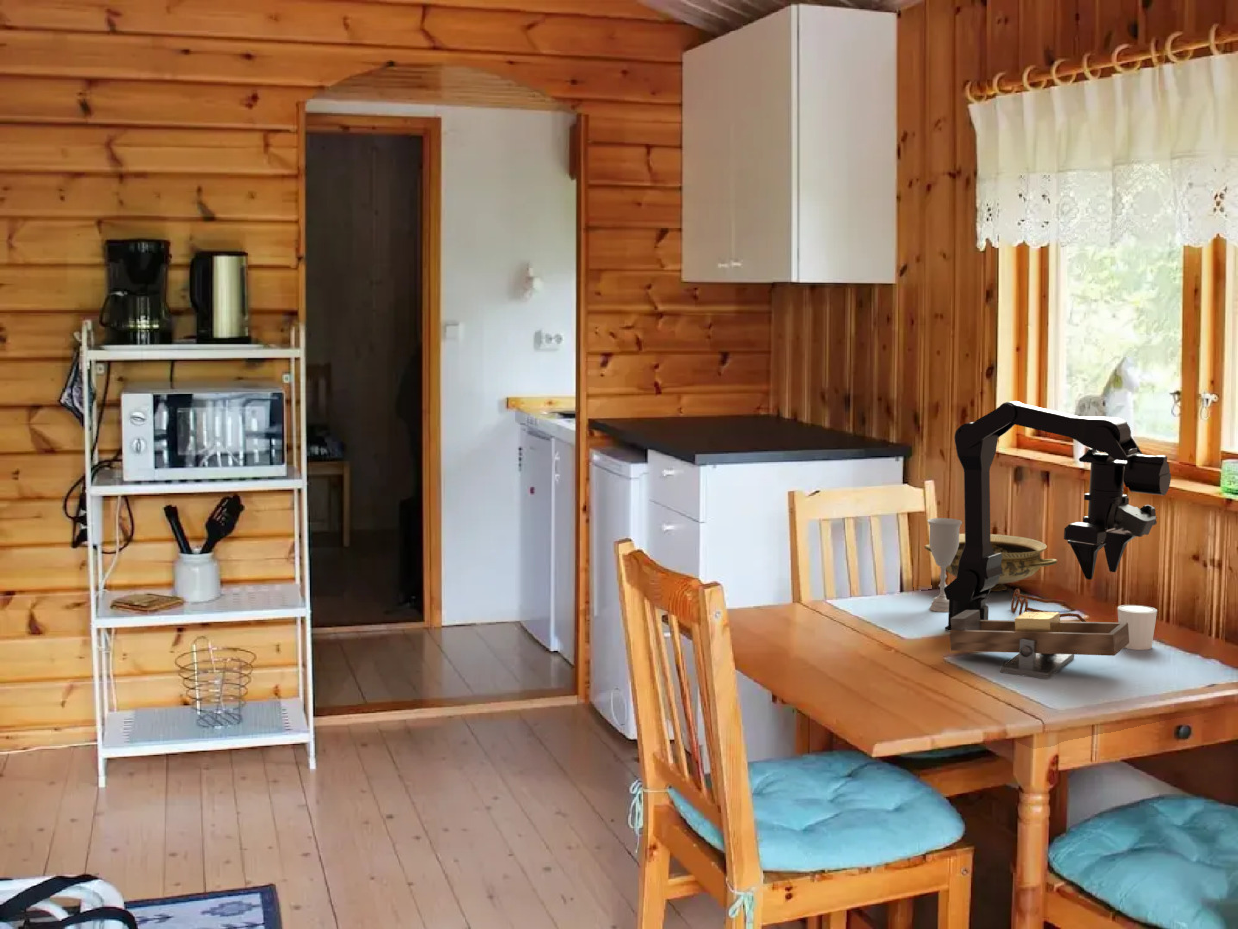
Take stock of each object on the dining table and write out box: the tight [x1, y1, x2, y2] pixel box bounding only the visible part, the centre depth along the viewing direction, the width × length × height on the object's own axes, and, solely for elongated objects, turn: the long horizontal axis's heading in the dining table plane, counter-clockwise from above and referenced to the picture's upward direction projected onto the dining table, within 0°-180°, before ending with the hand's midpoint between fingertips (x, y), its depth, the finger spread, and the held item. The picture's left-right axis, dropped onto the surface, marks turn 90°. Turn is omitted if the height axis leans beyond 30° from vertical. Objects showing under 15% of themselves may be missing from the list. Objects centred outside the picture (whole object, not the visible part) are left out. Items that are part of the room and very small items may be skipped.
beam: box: [948, 610, 1129, 657], centre depth 253 cm, size 28×10×6 cm, turn 57°
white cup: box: [1117, 604, 1158, 651], centre depth 266 cm, size 7×7×7 cm
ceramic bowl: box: [924, 533, 1058, 592], centre depth 315 cm, size 30×24×10 cm
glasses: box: [1010, 588, 1087, 622], centre depth 289 cm, size 13×13×5 cm
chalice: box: [927, 517, 963, 613], centre depth 294 cm, size 7×7×18 cm
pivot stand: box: [999, 638, 1075, 680], centre depth 253 cm, size 8×16×6 cm, turn 148°
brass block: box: [1014, 611, 1061, 632], centre depth 253 cm, size 6×6×4 cm
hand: (1100, 575), depth 261 cm, fingers open, 9 cm apart
